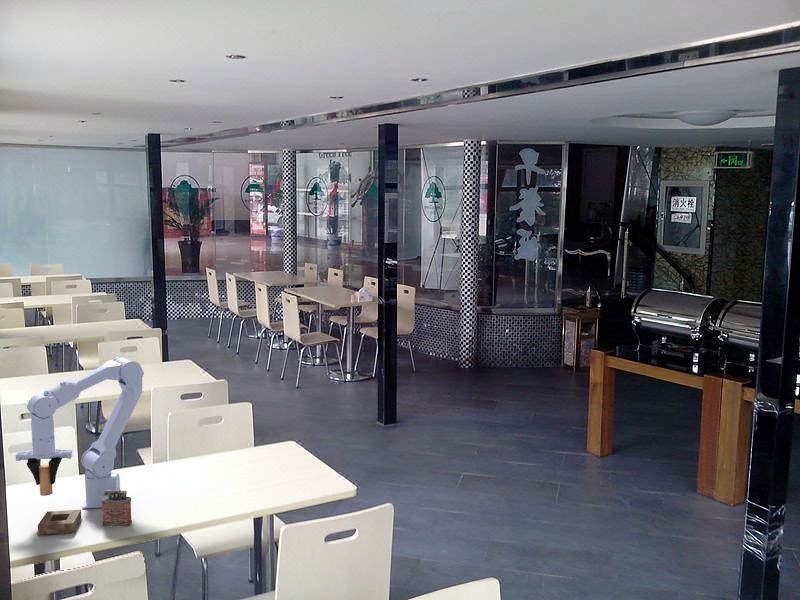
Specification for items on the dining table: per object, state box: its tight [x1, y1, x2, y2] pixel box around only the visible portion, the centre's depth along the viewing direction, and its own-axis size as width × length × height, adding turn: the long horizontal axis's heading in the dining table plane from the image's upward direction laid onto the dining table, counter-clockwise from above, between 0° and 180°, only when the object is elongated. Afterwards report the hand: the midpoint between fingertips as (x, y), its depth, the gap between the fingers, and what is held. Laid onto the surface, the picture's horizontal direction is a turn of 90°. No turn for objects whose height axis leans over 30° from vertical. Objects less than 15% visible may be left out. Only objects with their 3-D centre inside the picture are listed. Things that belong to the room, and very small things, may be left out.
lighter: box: [101, 488, 133, 528], centre depth 212 cm, size 8×3×10 cm, turn 92°
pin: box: [39, 464, 54, 497], centre depth 215 cm, size 3×3×8 cm
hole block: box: [37, 509, 82, 537], centre depth 209 cm, size 9×9×3 cm
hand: (45, 483), depth 215 cm, fingers closed on pin, 3 cm apart
